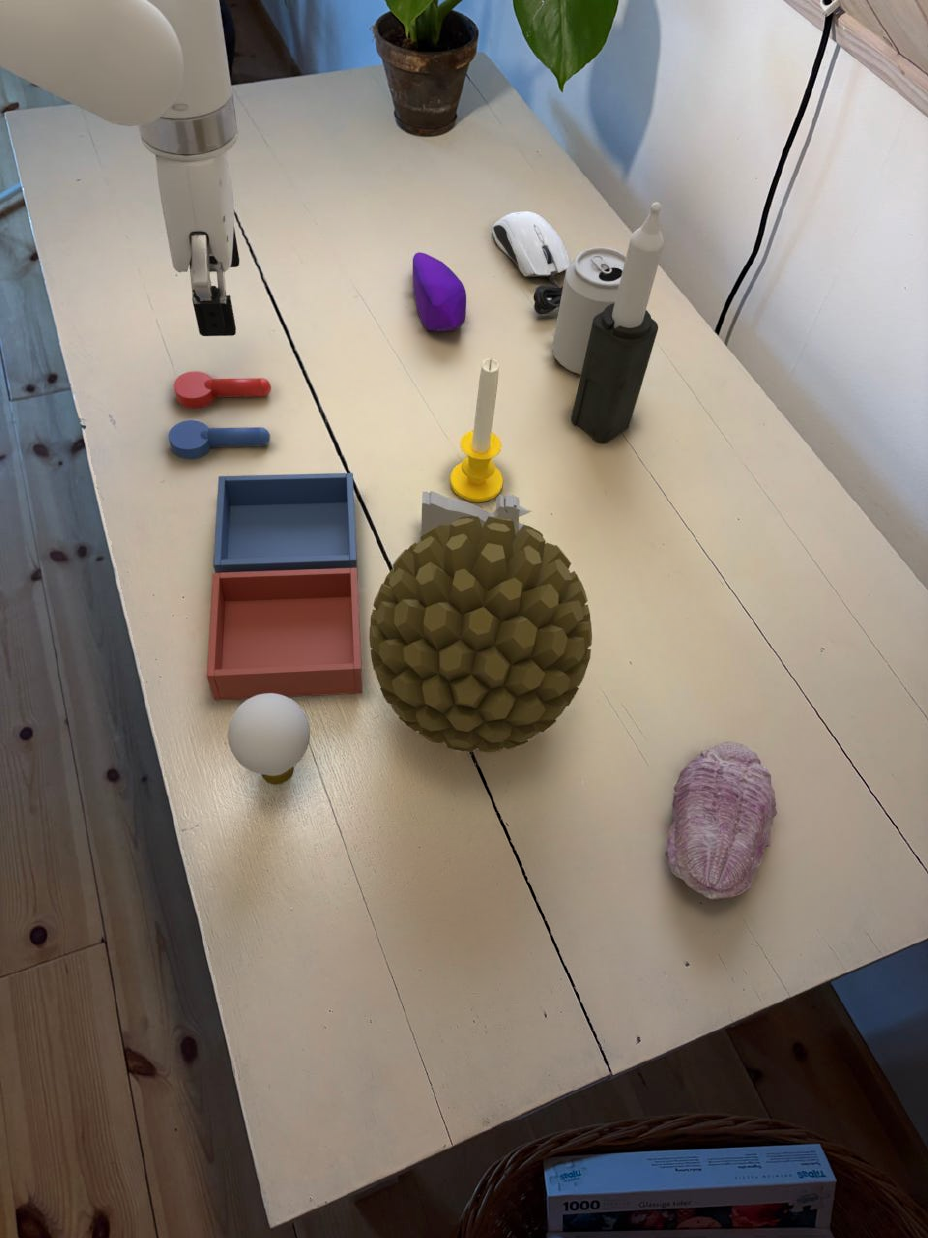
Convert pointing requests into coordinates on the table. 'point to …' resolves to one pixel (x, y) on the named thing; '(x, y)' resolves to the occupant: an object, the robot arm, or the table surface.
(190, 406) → the red ping pong paddle
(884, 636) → the table surface
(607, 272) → the can
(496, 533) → the decorative object
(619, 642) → the table surface
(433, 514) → the grey flat angular piece
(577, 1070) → the table surface
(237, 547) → the blue bin
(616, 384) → the candle
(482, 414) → the candle
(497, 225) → the computer mouse
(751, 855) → the fossil
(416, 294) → the crystal
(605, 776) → the table surface
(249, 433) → the blue spoon
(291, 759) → the light bulb
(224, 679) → the red bin
